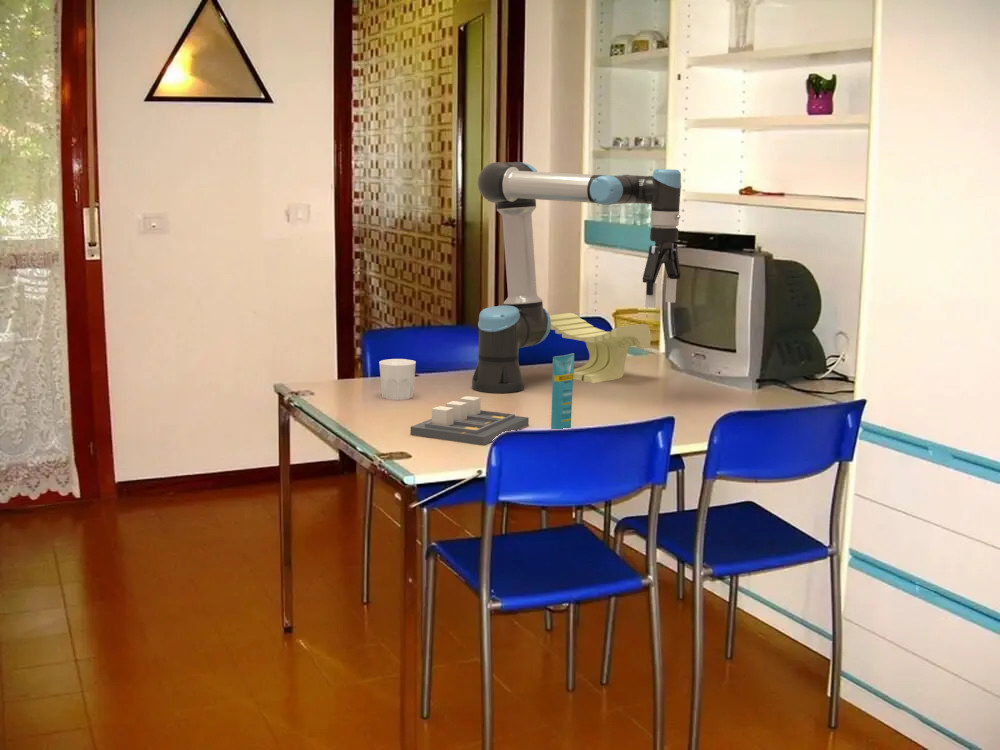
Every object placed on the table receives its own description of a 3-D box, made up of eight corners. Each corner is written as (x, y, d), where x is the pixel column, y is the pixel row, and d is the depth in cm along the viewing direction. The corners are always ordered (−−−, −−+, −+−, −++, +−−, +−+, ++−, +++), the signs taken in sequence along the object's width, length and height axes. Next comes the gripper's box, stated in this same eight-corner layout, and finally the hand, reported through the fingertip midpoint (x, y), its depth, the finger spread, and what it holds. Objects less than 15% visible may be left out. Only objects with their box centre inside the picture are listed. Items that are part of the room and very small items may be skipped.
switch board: (410, 434, 283) (410, 423, 282) (458, 416, 304) (458, 405, 304) (484, 445, 274) (484, 433, 274) (528, 425, 295) (528, 414, 295)
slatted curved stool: (648, 381, 356) (651, 322, 353) (614, 387, 345) (616, 327, 342) (575, 367, 378) (577, 312, 374) (541, 372, 367) (542, 316, 363)
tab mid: (445, 419, 290) (446, 403, 289) (453, 416, 293) (453, 400, 292) (460, 421, 288) (460, 405, 287) (467, 418, 291) (467, 402, 290)
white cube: (431, 424, 284) (431, 408, 283) (439, 422, 287) (439, 406, 286) (446, 426, 282) (446, 410, 281) (453, 424, 285) (453, 407, 284)
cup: (421, 399, 324) (422, 363, 323) (388, 402, 319) (388, 366, 317) (405, 392, 333) (405, 357, 331) (373, 395, 328) (373, 360, 326)
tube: (559, 435, 285) (561, 357, 281) (544, 432, 288) (546, 355, 284) (578, 430, 290) (580, 354, 287) (562, 427, 293) (564, 351, 290)
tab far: (459, 414, 296) (459, 398, 295) (466, 411, 299) (466, 396, 298) (473, 415, 294) (473, 400, 293) (480, 413, 297) (480, 397, 297)
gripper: (658, 229, 306) (654, 310, 310) (695, 225, 327) (690, 301, 331) (632, 228, 310) (628, 307, 314) (670, 224, 331) (666, 299, 335)
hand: (660, 304), depth 323 cm, fingers open, 13 cm apart
